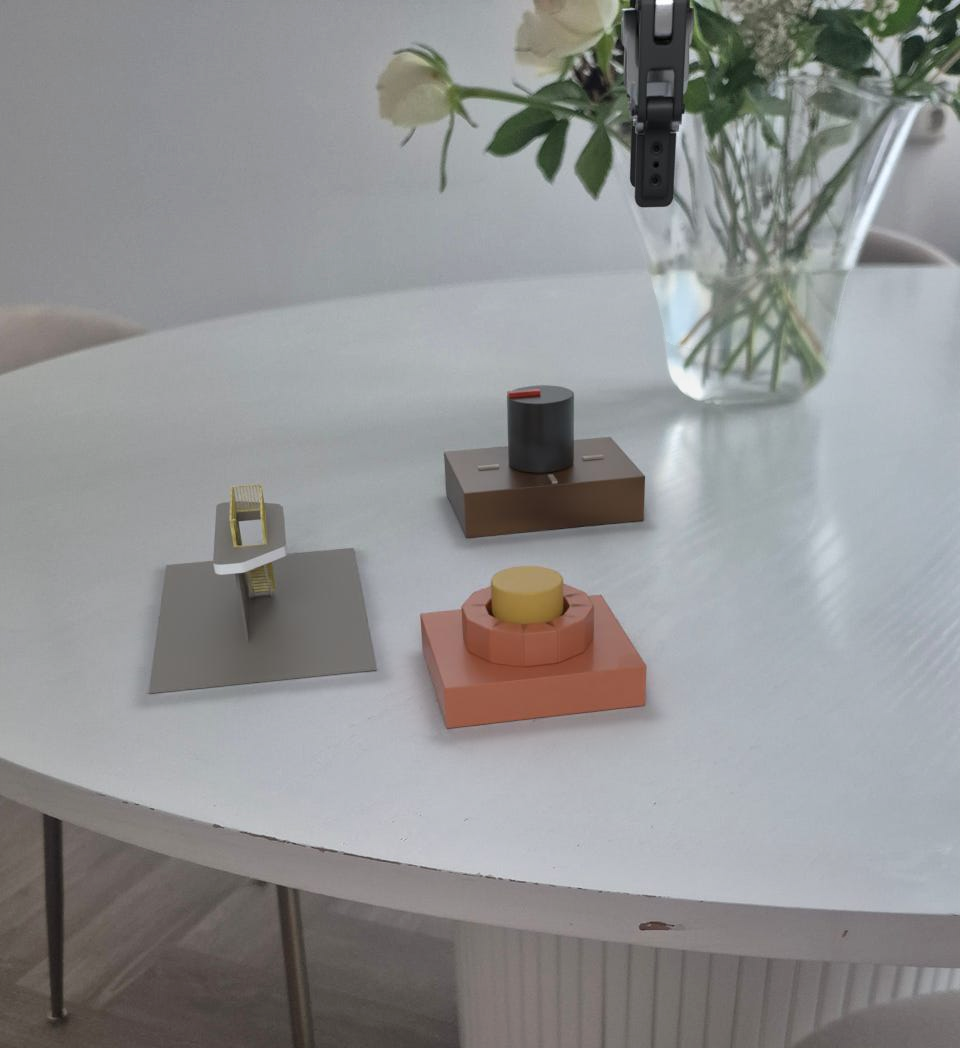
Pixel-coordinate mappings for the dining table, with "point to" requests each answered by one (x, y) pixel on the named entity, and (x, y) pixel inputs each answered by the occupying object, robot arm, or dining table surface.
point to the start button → (527, 594)
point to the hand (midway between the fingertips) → (650, 196)
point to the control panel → (543, 490)
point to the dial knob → (540, 428)
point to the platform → (259, 609)
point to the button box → (530, 662)
